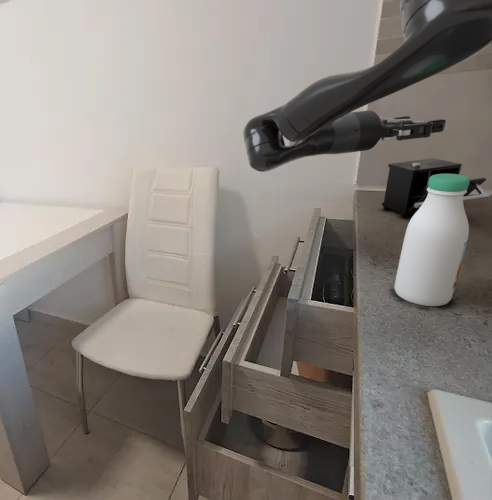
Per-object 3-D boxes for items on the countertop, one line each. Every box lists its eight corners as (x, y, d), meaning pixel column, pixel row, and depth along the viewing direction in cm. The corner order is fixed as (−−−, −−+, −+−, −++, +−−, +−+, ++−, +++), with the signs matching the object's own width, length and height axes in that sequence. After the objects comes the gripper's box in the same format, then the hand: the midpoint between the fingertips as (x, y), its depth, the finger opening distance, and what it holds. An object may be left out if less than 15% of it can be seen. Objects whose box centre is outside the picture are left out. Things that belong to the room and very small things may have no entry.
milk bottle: (444, 313, 56) (479, 186, 48) (387, 297, 62) (410, 180, 53) (455, 292, 61) (489, 172, 53) (401, 279, 66) (424, 168, 58)
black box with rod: (449, 212, 91) (462, 160, 86) (404, 218, 90) (414, 166, 85) (423, 203, 99) (433, 154, 93) (380, 208, 98) (388, 160, 93)
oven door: (463, 219, 88) (497, 193, 79) (394, 229, 87) (421, 203, 78) (453, 204, 90) (485, 177, 81) (385, 213, 89) (410, 187, 80)
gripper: (374, 115, 63) (462, 104, 64) (327, 110, 76) (401, 101, 77) (367, 158, 67) (451, 147, 67) (323, 147, 80) (395, 138, 80)
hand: (424, 123), depth 72 cm, fingers open, 8 cm apart
